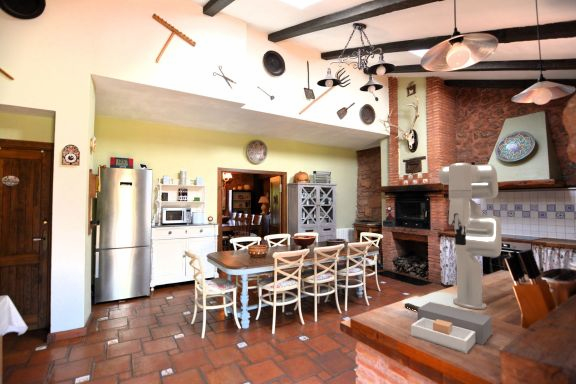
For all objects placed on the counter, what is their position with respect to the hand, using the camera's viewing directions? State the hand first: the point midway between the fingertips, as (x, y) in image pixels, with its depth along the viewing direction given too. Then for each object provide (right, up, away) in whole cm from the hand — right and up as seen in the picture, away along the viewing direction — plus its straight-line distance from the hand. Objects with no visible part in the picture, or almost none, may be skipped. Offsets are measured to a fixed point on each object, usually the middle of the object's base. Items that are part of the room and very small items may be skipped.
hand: (460, 244), depth 111 cm
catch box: (-15, -28, -16) cm, 35 cm away
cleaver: (-4, -30, +5) cm, 30 cm away
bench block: (-7, -28, -8) cm, 30 cm away
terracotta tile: (-15, -24, -17) cm, 33 cm away
